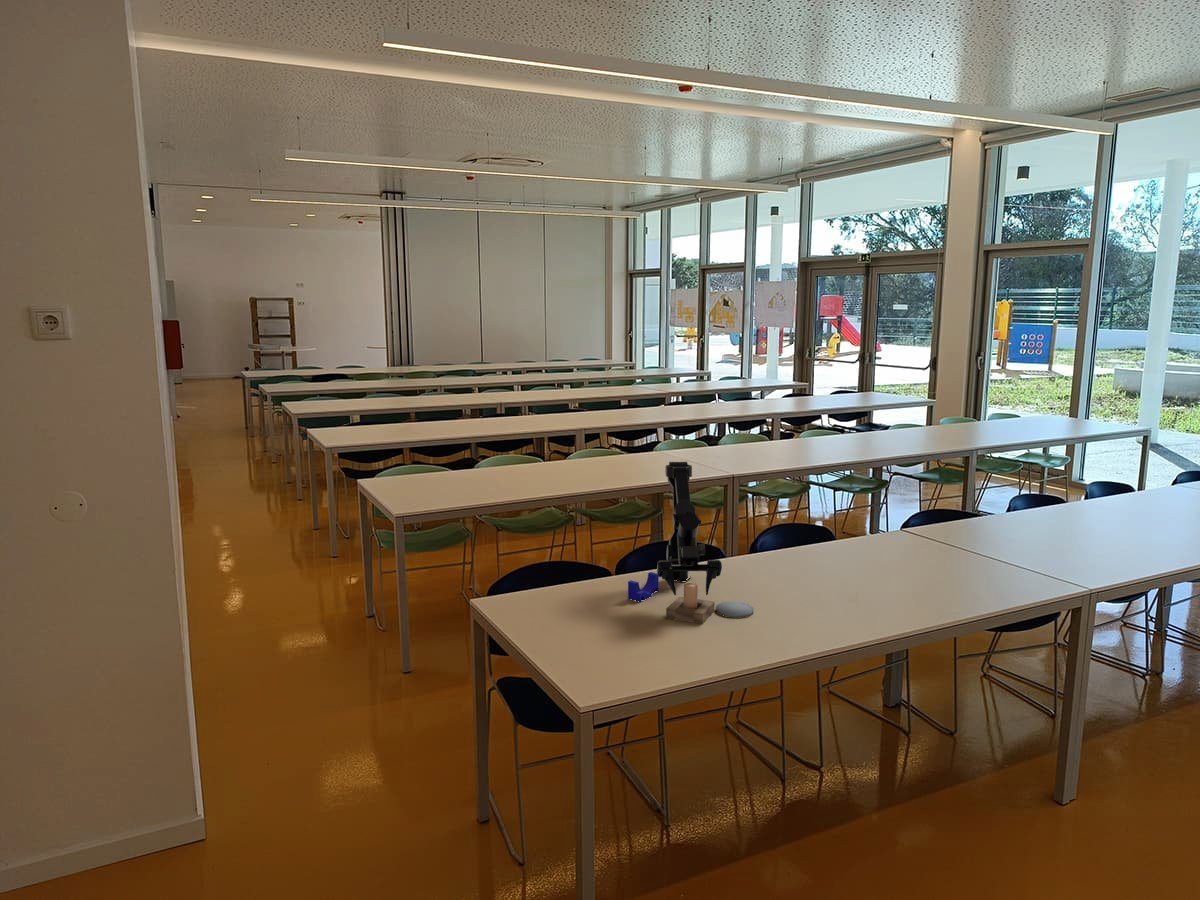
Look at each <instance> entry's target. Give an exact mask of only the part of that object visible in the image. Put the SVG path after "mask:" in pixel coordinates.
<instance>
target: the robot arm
mask: <svg viewBox="0 0 1200 900" xmlns="http://www.w3.org/2000/svg"><path fill="white" fill-rule="evenodd" d="M664 470H665V471H664V472H665V477H666V478H667V482H668V484H669V486H670V487H671V490H672V518H671V519H672V526H673V532H672V534H671V536H670V538H669V540H668V544H667V545H666V555H665V556H666V560H665V559H663V560H662V559H661V560H658V561H657V566H656V573H657V576H658V577H659V578H661V579H662V580H665V582H666V583H667V584H668V586H669V587H670V590H671V591H672V594H673V595H674V596H677V588H676V583H675V582H677V581H687V580H686V579H687V578H688V575H689V572H706V576H705V596H708V594H709V591H710V586H711V584H712V580H715V579H716V578H717V577H720V576H721V572H722V570H723V569H722V568H723V565H722V561H721V560H720V559H708V560H707V561H706V564H703V563H702V564H699V562H700V556H705V555H706V545H705V543H698V544H697V535H698V532H699V526H700V525H702V520H701V517H699V515H698V513H696V512H697V511H696V506H695V505H694V504H693V503H692V502H691V497H690V496H691V495H690V486H689V481H690V478H691V477H693V465H692V464H688V461H669V462H668V464H665V469H664ZM674 580H677V581H674ZM687 582H688V581H687Z"/></svg>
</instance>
